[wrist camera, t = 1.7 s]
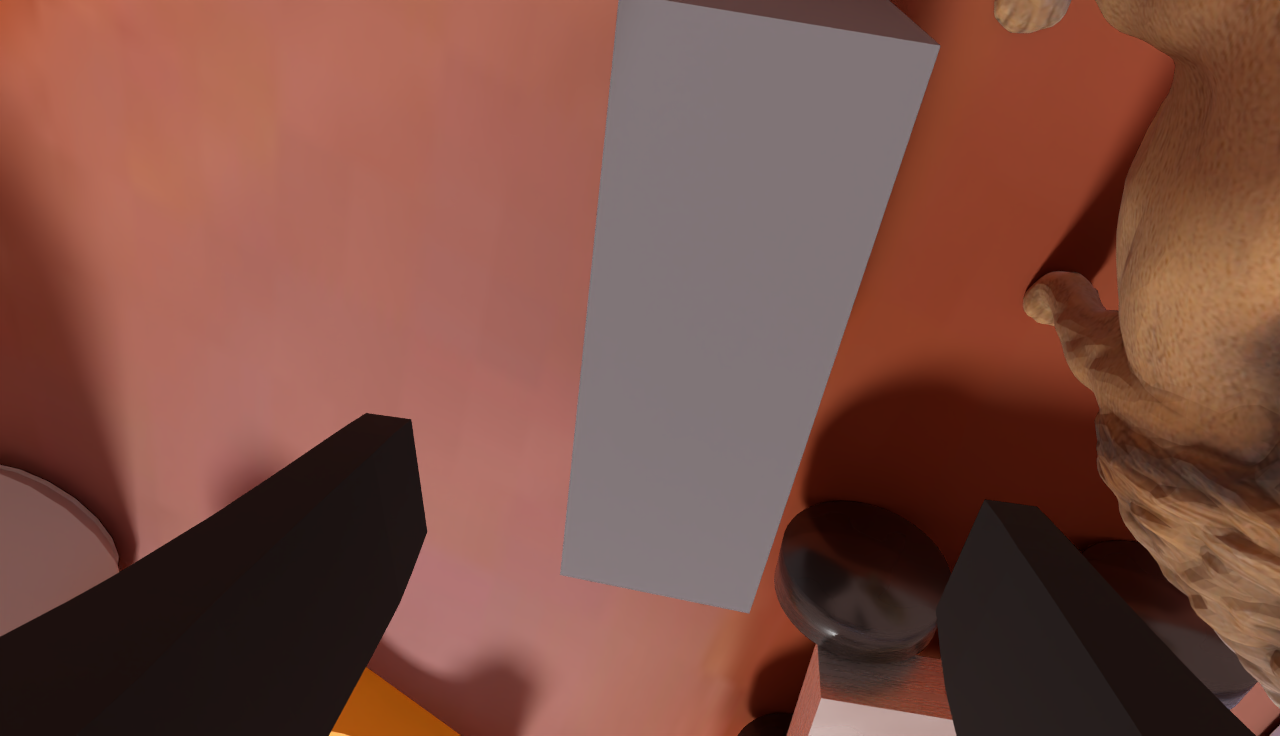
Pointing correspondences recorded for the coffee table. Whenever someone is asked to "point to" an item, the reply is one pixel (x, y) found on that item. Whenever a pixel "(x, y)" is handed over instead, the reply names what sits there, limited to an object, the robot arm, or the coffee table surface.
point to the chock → (726, 273)
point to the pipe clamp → (385, 712)
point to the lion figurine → (1192, 316)
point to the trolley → (928, 623)
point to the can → (46, 548)
